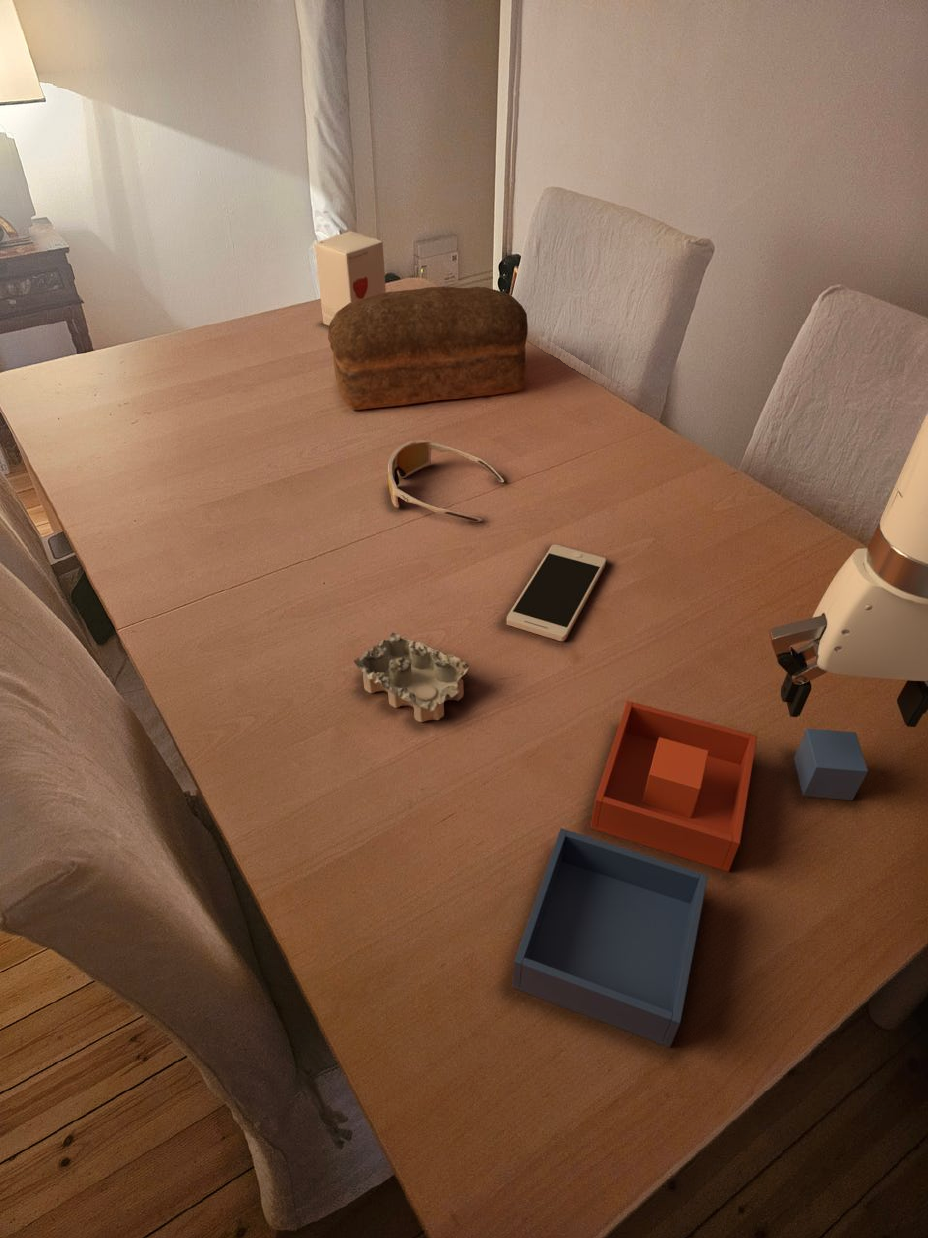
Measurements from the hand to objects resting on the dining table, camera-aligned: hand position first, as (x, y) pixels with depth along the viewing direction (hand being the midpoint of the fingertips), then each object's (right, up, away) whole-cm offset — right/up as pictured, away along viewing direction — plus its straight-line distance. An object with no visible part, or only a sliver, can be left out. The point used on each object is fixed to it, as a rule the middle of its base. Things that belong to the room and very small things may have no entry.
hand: (847, 709), depth 71 cm
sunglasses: (-36, +25, +42) cm, 61 cm away
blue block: (+1, -7, +6) cm, 10 cm away
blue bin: (-22, -18, -5) cm, 29 cm away
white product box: (-54, +64, +85) cm, 119 cm away
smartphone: (-22, +11, +26) cm, 36 cm away
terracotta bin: (-14, -9, +5) cm, 17 cm away
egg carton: (-39, 0, +15) cm, 42 cm away
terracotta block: (-14, -8, +5) cm, 17 cm away
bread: (-39, +47, +66) cm, 90 cm away
